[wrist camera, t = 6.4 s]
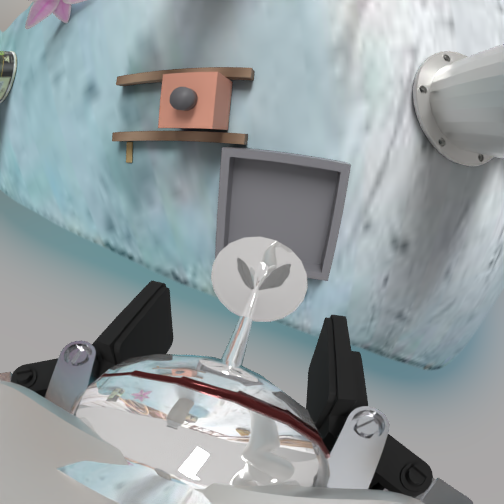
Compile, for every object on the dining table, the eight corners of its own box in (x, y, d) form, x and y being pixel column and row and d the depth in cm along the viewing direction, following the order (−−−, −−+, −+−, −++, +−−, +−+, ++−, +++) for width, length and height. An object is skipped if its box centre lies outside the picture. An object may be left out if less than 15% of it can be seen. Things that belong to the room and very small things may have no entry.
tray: (346, 162, 25) (350, 164, 23) (326, 269, 30) (327, 280, 28) (228, 146, 26) (222, 147, 24) (221, 253, 31) (215, 262, 29)
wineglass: (215, 196, 13) (-14, 401, 2) (349, 251, 13) (401, 541, 2) (183, 306, 16) (69, 487, 5) (291, 349, 16) (257, 556, 5)
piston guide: (254, 71, 23) (251, 67, 22) (244, 169, 27) (241, 171, 26) (124, 78, 25) (117, 76, 23) (119, 162, 29) (111, 163, 28)
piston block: (232, 82, 24) (213, 68, 18) (227, 129, 26) (207, 128, 20) (185, 82, 24) (156, 71, 19) (181, 128, 26) (151, 127, 21)
